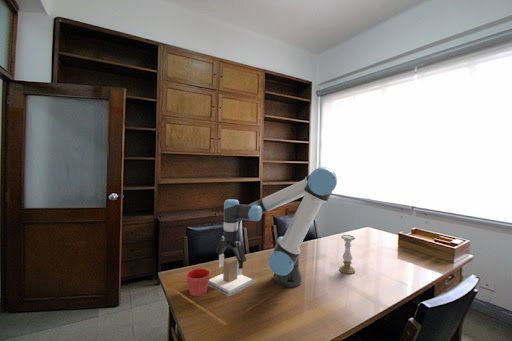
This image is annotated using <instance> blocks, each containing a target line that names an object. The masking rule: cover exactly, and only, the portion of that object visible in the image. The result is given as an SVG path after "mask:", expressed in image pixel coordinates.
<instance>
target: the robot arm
mask: <svg viewBox="0 0 512 341" xmlns="http://www.w3.org/2000/svg"><path fill="white" fill-rule="evenodd" d="M337 183H338V182H337V175H336V173H335V172H334V171H333V170H332V169H331V168H328V167H323V166H321V167H318V168H315V169H314V170H313V171H312V172H310V174H309V175H306V176H305V178H304V179H303V180H302V179H301V180H300V181H298V182H295V183H293V184H292V185H290V186H287V187H285V188H283V189H281V190H278V191H276V192H274V193H271V194H270V195H266V196H264V197H263V198H261V199H258V200H256V201H254V202H251V203H249V204H241V203H240V202H239V200H238V199H234V198H232V199H231V198H230V199H225V201H224V202H223V206H224V207H223V235H222V236H220V237H219V243H218V244H217V247H216V250H215V253H217V254H218V268H222V267H223V264H224V261H225V254H224V252H225V251H226V249H227V248H229V249H231V250H232V251H233V253H234V256H235V257H236V258H235V259H237V275H241V274H242V275H243V267H244V266H243V265H244V262H246V261H247V258H246V255H245V251H244V248H243V242H242V240H240V241H238V237H239V220H243V221H251V222H259V221H260V220H261V219H262V215H263V214H265V213H267V212H270V211H272V210H274V209H276V208H278V207H281V206H283V205H286V204H289V203H291V202H293V201H295V200H298V199H300V198H302V200H301V202H300V204H299V205H298V208H297V210H296V211H295V213H294V216H293V217H292V218H291V219H292V220H291V221H290V223H289V226H288V227H287V230H286V232H285V233H284V235H283V236H279V237H278V238H277V239H276V240H277V241H276V245H275V246H274V247H273V251H272V252H271V253H270V255H269V257H268V261H267V262H268V265H269V268H270V270H271V271H272V272H273V281H274V282H275V283H277V284H278V285H281V286H283V288H284V287H285V288H295V287H299V286H300V285H301V284H302V283H303V276H302V273H301V270H300V254H301V249H300V247H301V245H302V243H303V241H304V239H305V237H306V235H308V234H307V233H308V232H309V229H310V228H311V226H312V224H313V222H314V220H315V218H316V216H317V214H318V213H319V210H320V209H321V206H322V205H323V204H324V203H326V202H328V200H329V199H330V197H331V194H332V193H333V191H334V190H335V189H336V187H337Z"/></svg>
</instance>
